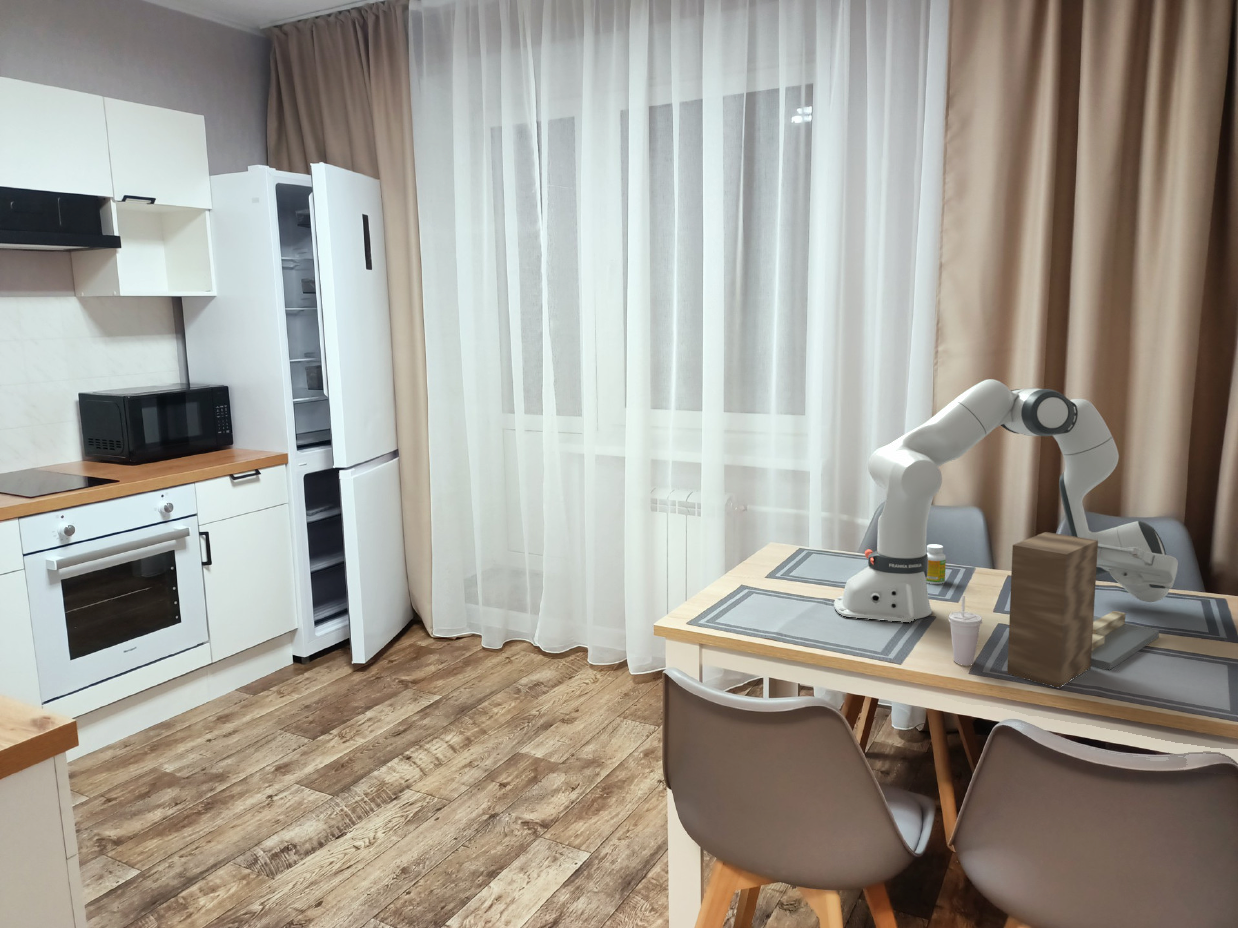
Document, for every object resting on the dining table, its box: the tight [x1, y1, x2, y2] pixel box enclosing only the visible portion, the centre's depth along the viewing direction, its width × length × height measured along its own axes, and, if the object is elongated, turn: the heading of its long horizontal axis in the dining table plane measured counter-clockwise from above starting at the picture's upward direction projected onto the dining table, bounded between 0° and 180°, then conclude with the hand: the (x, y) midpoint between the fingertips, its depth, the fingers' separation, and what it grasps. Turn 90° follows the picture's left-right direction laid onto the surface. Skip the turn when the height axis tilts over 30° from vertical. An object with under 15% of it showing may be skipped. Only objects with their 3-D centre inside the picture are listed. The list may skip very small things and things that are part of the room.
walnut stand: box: [1006, 531, 1098, 689], centre depth 173 cm, size 14×10×26 cm
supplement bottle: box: [926, 543, 947, 585], centre depth 234 cm, size 5×5×10 cm
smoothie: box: [948, 595, 983, 666], centre depth 180 cm, size 6×6×14 cm
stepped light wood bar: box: [1092, 610, 1126, 650], centre depth 189 cm, size 23×6×2 cm, turn 130°
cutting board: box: [1091, 615, 1160, 671], centre depth 189 cm, size 26×16×2 cm, turn 131°
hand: (1112, 547), depth 190 cm, fingers open, 8 cm apart
